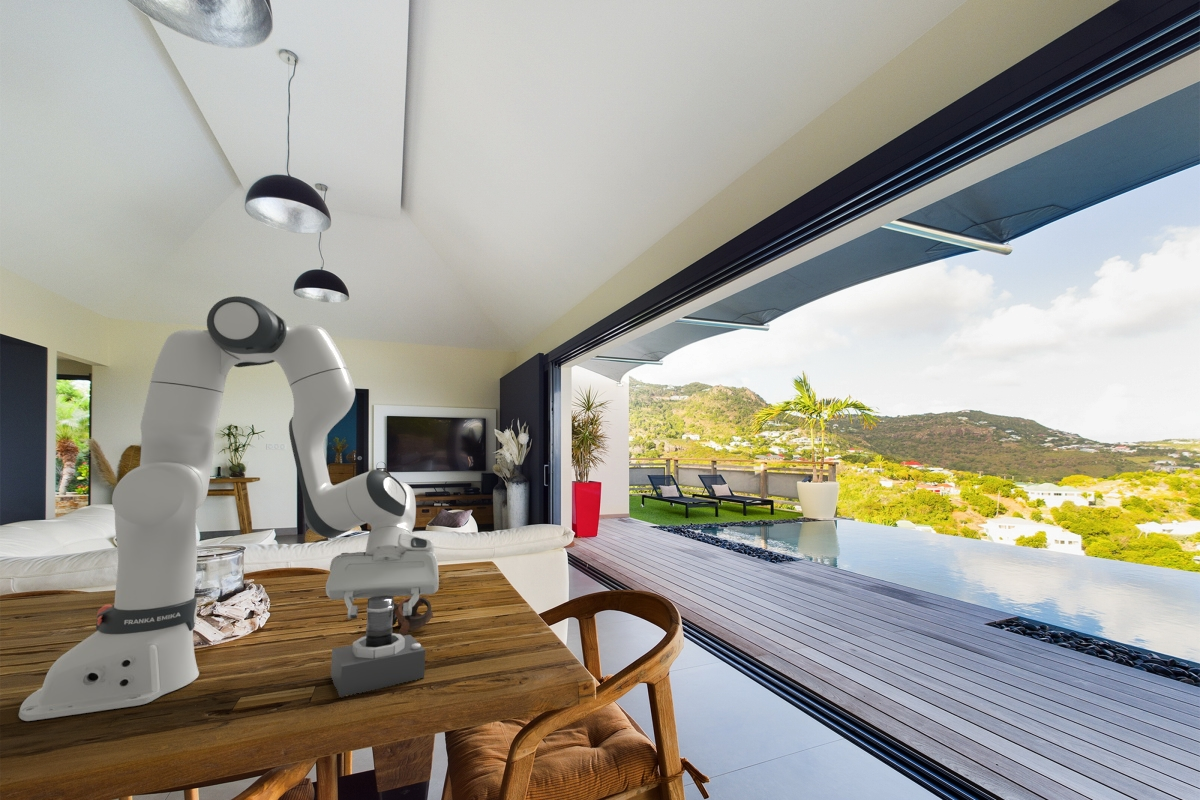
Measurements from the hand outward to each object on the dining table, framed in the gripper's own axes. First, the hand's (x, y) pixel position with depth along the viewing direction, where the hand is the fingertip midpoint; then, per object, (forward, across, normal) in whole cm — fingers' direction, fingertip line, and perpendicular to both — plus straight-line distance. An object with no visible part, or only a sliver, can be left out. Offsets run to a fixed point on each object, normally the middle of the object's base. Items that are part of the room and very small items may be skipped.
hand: (379, 615), depth 98 cm
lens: (+4, 0, +5) cm, 6 cm away
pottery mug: (-12, +3, +28) cm, 31 cm away
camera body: (+7, 0, +8) cm, 11 cm away
